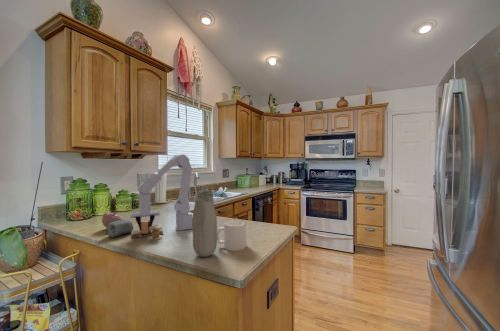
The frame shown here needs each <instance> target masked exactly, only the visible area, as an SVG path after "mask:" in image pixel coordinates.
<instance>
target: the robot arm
mask: <svg viewBox="0 0 500 331" xmlns="http://www.w3.org/2000/svg"><path fill="white" fill-rule="evenodd" d="M174 167H179V169H180V170H181V171H182V172H181V173H182V174H181V180H180V186H179V193H178V197H177V199H176V202H175V204H174V210H175V226H174V228H175V231H186V230H191V229H192V217H193V212H190V209H191V207H190V200H189V191H190V185H191V178H192V169H193V168H192V166H191V163H190V158H189V157H188V156H187V155H186V154H175V155H173V156H172V157H170V159H169V160H167V161H166V162H165V164H163V166H162V167H161V168H160V169H159V170H158V171H157V172H153V173H150V174H149V176H148V178H146V179H145V180H143V181H142V183H140V184H139V185H138V187H137V191H138V194H139V195H138V198H139V200H138V205H139V207H138V208H139V212H137V213H130V215H129V216H130V219H135V222H136V223H137V225H138V227H139V230H140V231H141V222H142V218H147V217H149V221H150V227H151V226H153V223H154V220H155V219H156V218H155V217H156V216H157V217H158V216H160V211H152V205H151V202H152V200H151V199H152V198H151V192H152V191H153V188H154V187H155V186H157V185H158V184H159V182H161V181H162V177H163V176H164V175H165V174H166V173H167V172H168V171H169V170H171V169H172V168H174Z"/></svg>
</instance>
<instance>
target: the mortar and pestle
mask: <svg viewBox="0 0 500 331" xmlns="http://www.w3.org/2000/svg"><path fill="white" fill-rule="evenodd" d="M117 213H118V209H115V210H114V212H111V211H110V212H107V211H105V212H104V213H103V215H102V219H101V221H102V222H101V223H102V225H103V226H104V227H105V228H106V227H107V225H108V224H109V223H112V222H115V221H118V220H123V219H126V217H124V216H122V215H118V214H117Z"/></svg>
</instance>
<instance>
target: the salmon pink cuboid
mask: <svg viewBox="0 0 500 331" xmlns="http://www.w3.org/2000/svg"><path fill="white" fill-rule="evenodd" d="M149 227H150V220H143V221H142V220H141V235H143V234H142V233H148V234H150V233H149V232H150V229H149Z"/></svg>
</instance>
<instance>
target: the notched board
mask: <svg viewBox="0 0 500 331" xmlns="http://www.w3.org/2000/svg"><path fill="white" fill-rule="evenodd" d="M163 233H164V232H163V227H162V228H161V229H159V234H160V235H161V236H163ZM149 234H150V237H151V236H152V230H150V232H149V233H142V234H141V231H140V229H139V230H132V232H131V238H132V239H135V238H141V236H142V235H149Z"/></svg>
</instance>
